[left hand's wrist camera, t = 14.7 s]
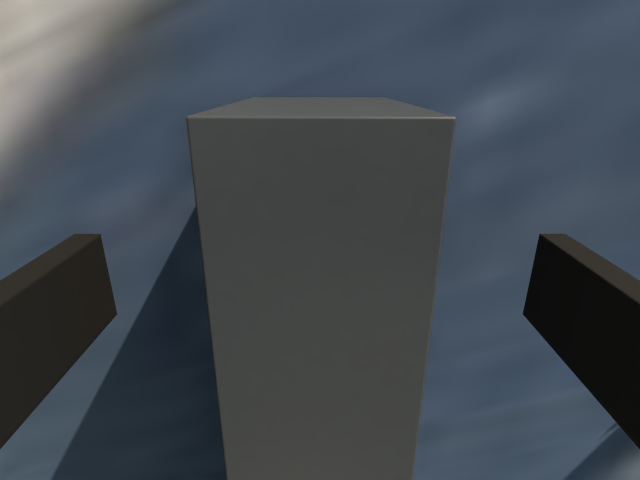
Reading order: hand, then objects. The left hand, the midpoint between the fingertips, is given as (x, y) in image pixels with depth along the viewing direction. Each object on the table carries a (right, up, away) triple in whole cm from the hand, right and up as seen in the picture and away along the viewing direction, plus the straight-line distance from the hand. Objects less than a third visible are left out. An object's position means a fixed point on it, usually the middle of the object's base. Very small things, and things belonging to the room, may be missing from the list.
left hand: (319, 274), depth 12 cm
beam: (0, -21, +13) cm, 24 cm away
